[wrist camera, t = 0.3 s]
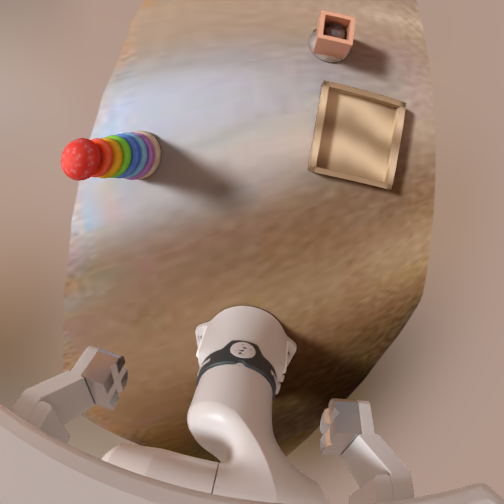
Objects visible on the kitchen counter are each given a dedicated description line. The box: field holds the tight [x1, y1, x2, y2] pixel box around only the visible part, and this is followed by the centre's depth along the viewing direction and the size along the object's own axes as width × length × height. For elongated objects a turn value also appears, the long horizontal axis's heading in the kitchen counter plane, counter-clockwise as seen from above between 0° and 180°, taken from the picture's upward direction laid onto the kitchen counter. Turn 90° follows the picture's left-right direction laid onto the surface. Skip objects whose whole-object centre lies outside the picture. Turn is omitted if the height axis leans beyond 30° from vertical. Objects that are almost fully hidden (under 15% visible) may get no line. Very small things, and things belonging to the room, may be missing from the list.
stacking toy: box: [61, 131, 161, 180], centre depth 37 cm, size 8×8×19 cm
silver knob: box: [309, 23, 350, 63], centre depth 35 cm, size 6×6×6 cm
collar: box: [313, 10, 355, 59], centre depth 34 cm, size 5×5×7 cm
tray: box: [308, 81, 406, 190], centre depth 41 cm, size 14×13×3 cm
